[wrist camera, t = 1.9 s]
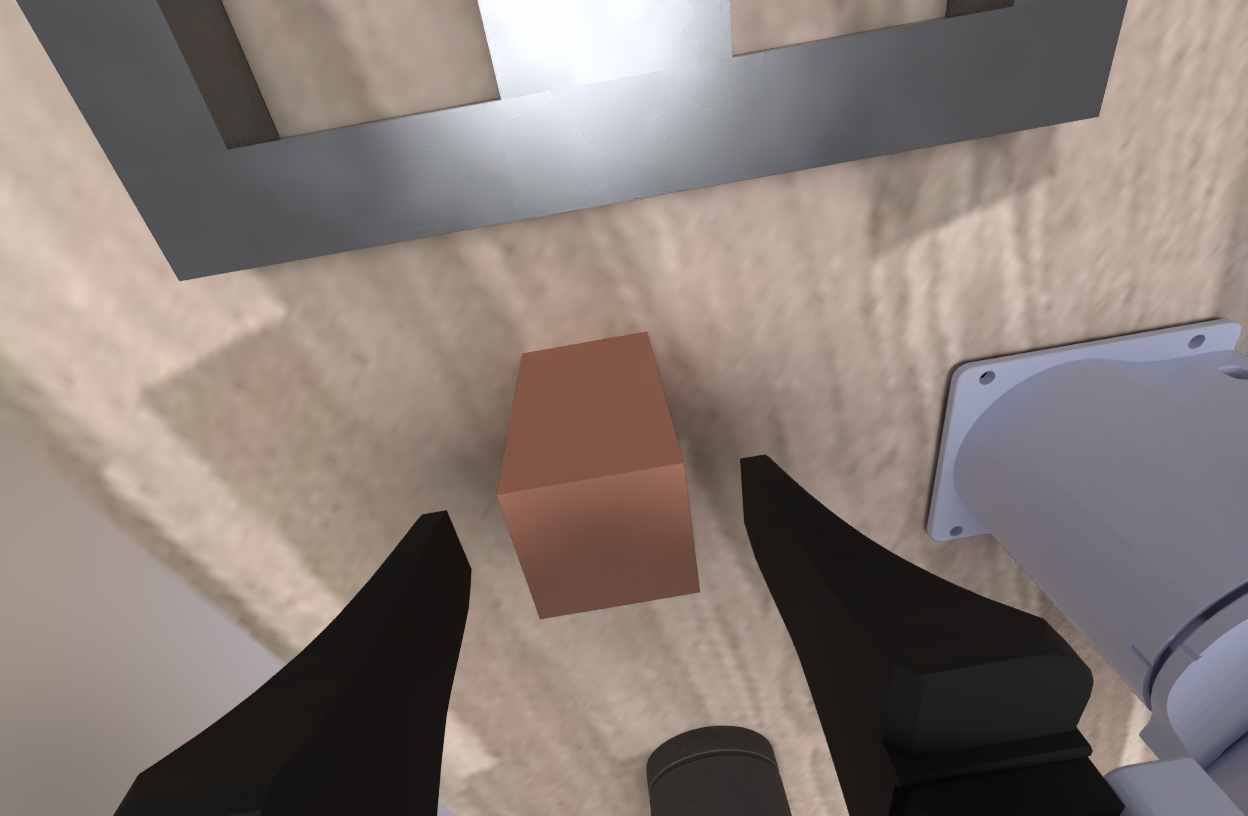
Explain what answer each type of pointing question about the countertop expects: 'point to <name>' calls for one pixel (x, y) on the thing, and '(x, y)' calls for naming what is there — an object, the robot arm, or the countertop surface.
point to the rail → (545, 114)
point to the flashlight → (716, 775)
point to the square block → (596, 480)
